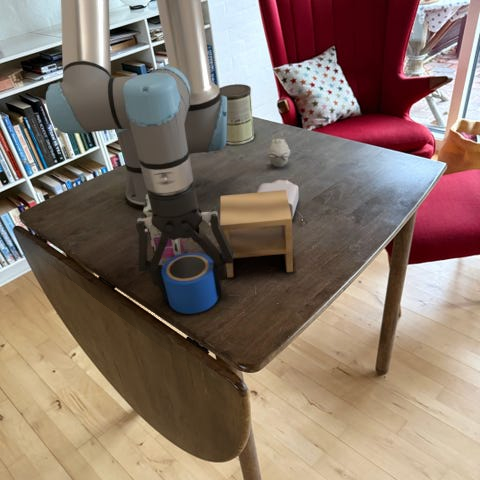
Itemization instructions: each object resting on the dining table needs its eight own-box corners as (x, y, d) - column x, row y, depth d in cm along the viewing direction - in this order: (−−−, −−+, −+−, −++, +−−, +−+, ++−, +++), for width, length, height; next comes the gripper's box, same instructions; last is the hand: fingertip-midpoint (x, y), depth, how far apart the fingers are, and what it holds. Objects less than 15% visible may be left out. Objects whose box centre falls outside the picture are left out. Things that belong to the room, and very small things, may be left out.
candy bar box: (186, 282, 91) (169, 208, 80) (161, 285, 91) (141, 212, 80) (186, 250, 99) (172, 180, 88) (163, 253, 99) (146, 183, 88)
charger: (302, 189, 114) (292, 221, 104) (266, 188, 116) (253, 219, 106) (302, 171, 111) (292, 202, 101) (265, 171, 113) (251, 201, 103)
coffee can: (214, 139, 143) (208, 91, 133) (239, 129, 147) (235, 81, 138) (235, 148, 137) (230, 98, 127) (261, 136, 141) (258, 87, 132)
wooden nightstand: (227, 246, 99) (220, 195, 91) (287, 240, 98) (285, 189, 90) (227, 277, 91) (220, 225, 83) (292, 271, 90) (291, 218, 82)
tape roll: (171, 283, 91) (163, 254, 86) (218, 279, 91) (214, 249, 86) (166, 316, 84) (158, 285, 79) (218, 311, 84) (213, 281, 79)
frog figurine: (290, 159, 128) (289, 134, 123) (290, 170, 123) (290, 144, 118) (268, 160, 128) (267, 135, 124) (267, 172, 123) (266, 146, 118)
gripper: (95, 203, 70) (132, 312, 85) (241, 189, 69) (252, 302, 84) (105, 181, 75) (138, 287, 90) (240, 168, 74) (250, 277, 89)
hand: (193, 294), depth 87 cm, fingers closed on tape roll, 10 cm apart
